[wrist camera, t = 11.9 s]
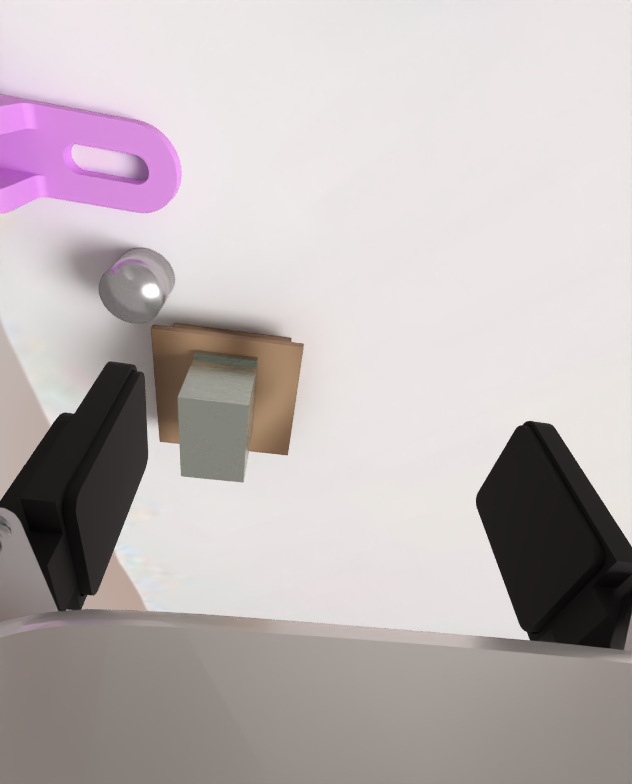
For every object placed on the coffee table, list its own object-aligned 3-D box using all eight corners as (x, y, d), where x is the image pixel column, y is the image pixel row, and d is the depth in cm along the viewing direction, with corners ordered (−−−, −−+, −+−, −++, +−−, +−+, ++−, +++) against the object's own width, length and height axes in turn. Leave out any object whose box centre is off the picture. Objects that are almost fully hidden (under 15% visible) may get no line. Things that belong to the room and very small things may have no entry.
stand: (168, 421, 45) (159, 441, 43) (161, 311, 38) (150, 328, 36) (289, 434, 46) (287, 455, 44) (304, 329, 39) (303, 347, 37)
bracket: (-4, 181, 33) (-72, 207, 27) (-25, 89, 29) (-106, 96, 24) (181, 214, 34) (154, 244, 28) (181, 128, 31) (150, 144, 25)
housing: (195, 349, 37) (177, 393, 32) (258, 357, 37) (249, 402, 32) (197, 430, 42) (181, 478, 37) (251, 436, 42) (243, 484, 37)
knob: (121, 296, 38) (103, 319, 34) (115, 243, 35) (94, 262, 32) (176, 304, 38) (162, 326, 35) (174, 252, 35) (159, 271, 32)
